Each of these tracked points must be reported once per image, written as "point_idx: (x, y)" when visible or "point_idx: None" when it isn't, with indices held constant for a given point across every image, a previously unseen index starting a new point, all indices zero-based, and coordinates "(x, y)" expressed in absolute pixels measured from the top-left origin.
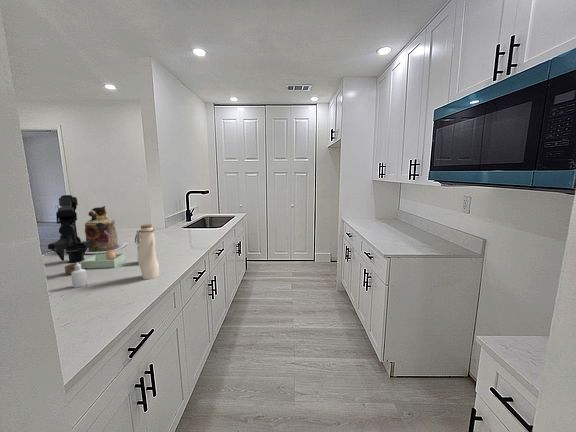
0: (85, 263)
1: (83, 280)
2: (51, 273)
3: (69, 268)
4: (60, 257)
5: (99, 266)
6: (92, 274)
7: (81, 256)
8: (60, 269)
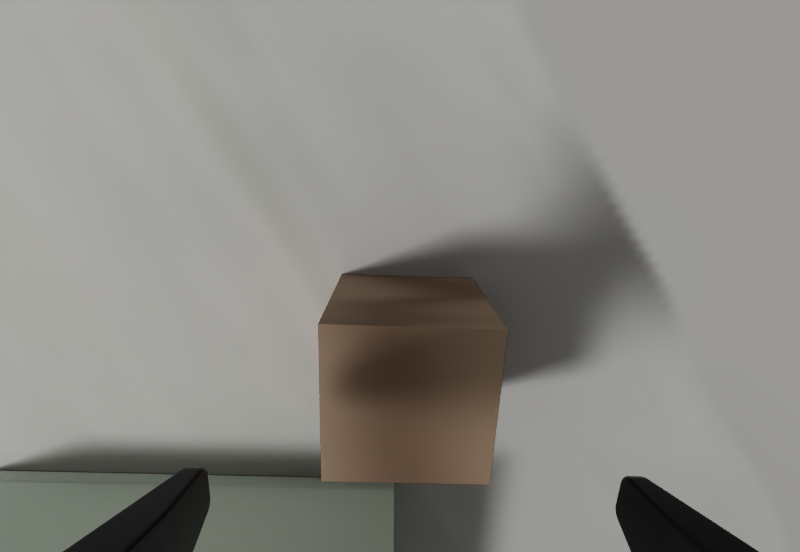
0: (334, 545)
1: None
2: (697, 383)
3: (419, 312)
4: (732, 548)
5: None
6: (115, 258)
7: (73, 547)
8: None
